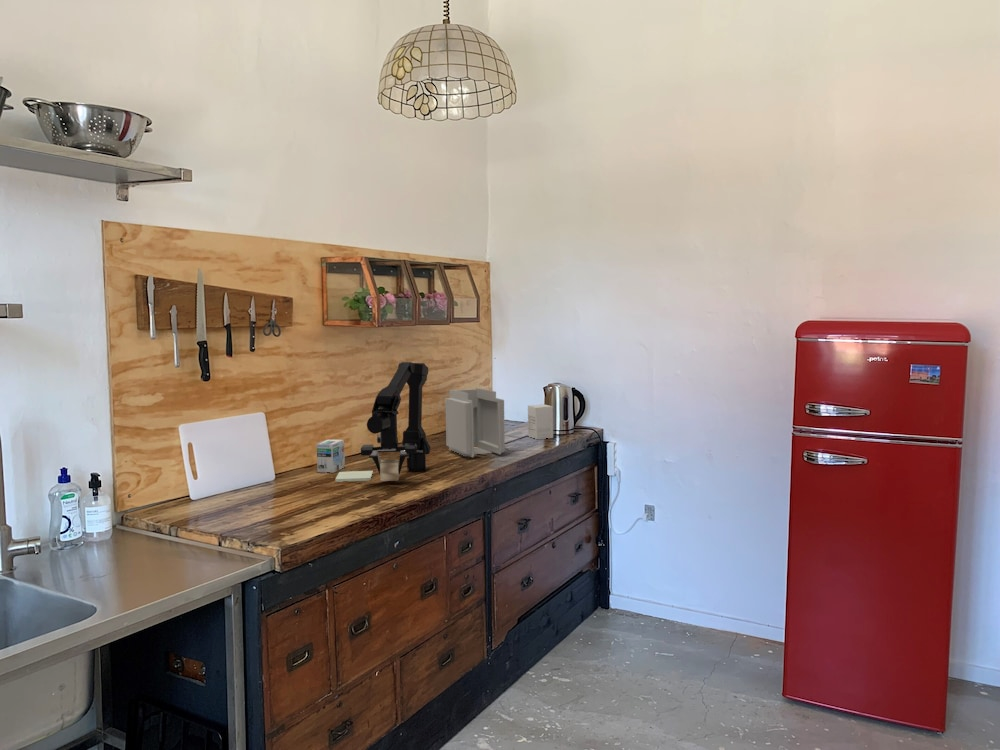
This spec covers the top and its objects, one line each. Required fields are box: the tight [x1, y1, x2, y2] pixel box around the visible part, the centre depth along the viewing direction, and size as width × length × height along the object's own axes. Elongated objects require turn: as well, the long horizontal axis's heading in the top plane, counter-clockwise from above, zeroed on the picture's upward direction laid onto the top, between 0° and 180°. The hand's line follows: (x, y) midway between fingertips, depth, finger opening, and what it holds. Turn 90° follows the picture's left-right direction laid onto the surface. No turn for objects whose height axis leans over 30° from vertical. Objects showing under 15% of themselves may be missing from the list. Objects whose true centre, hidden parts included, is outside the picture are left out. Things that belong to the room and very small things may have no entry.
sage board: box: [334, 470, 374, 483], centre depth 261 cm, size 12×12×1 cm
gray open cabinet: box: [444, 387, 506, 458], centre depth 304 cm, size 17×27×26 cm, turn 26°
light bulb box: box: [316, 438, 346, 474], centre depth 274 cm, size 11×7×11 cm, turn 168°
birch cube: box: [379, 458, 400, 482], centre depth 251 cm, size 6×6×6 cm
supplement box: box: [527, 404, 554, 440], centre depth 340 cm, size 9×9×15 cm
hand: (389, 474), depth 251 cm, fingers closed on birch cube, 6 cm apart
